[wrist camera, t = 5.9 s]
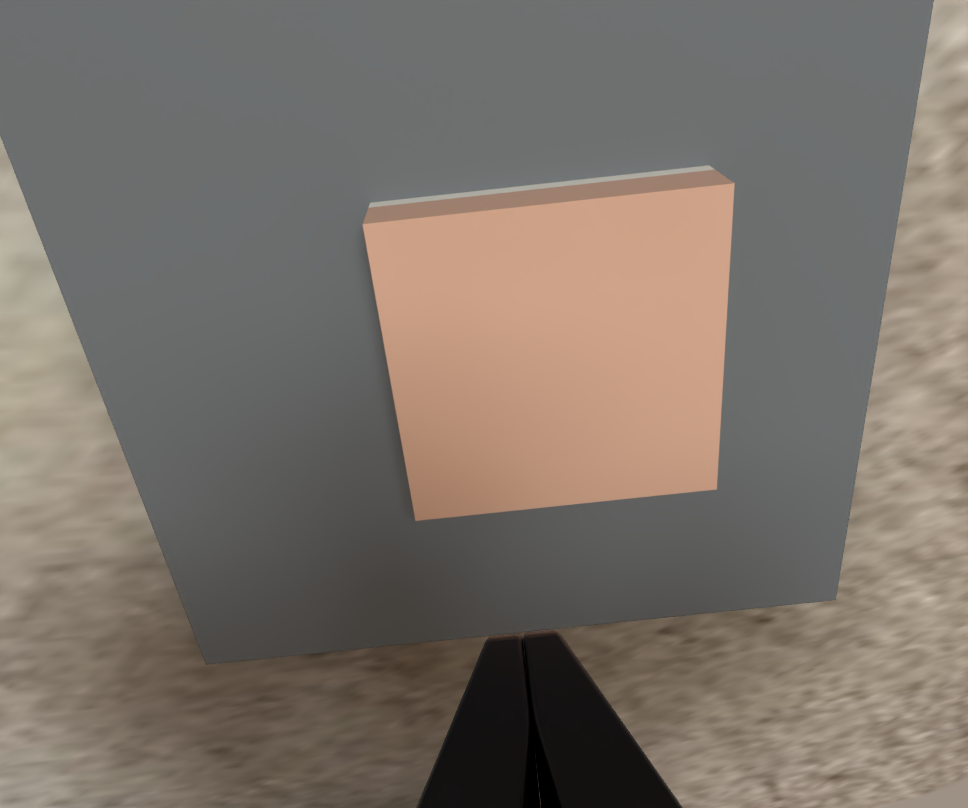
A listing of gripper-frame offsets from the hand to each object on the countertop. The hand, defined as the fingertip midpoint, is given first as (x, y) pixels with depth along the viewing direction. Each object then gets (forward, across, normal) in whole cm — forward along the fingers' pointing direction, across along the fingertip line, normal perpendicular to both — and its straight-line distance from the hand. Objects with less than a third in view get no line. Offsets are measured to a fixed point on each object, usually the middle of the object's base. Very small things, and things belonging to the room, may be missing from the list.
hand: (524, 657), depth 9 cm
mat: (+10, 0, 0) cm, 10 cm away
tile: (+9, +2, 0) cm, 9 cm away
